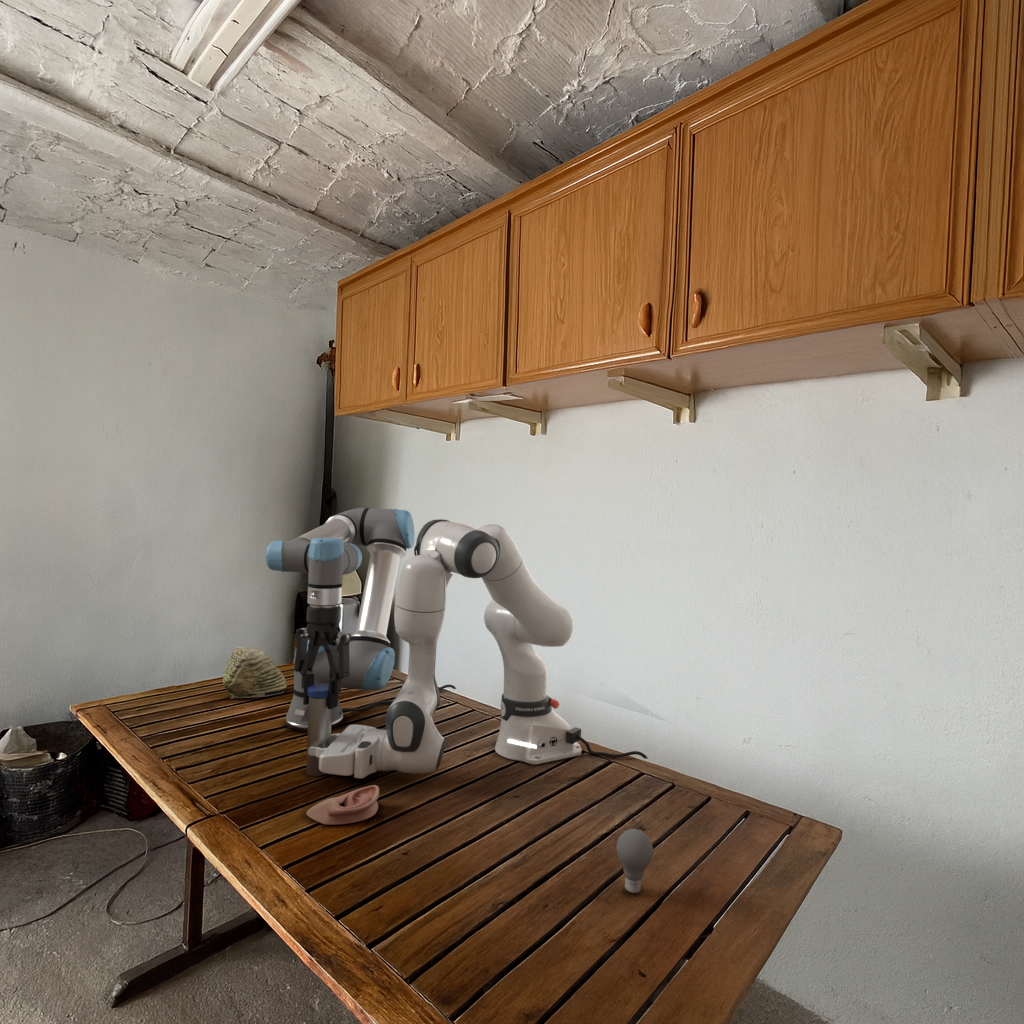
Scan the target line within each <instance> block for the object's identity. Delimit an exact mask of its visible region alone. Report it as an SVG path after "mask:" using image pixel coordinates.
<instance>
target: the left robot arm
mask: <svg viewBox="0 0 1024 1024" xmlns="http://www.w3.org/2000/svg"><path fill="white" fill-rule="evenodd" d="M415 537H416V536H415V525H414V519H413V516H412V514H411V512H409V510H406V509H398V508H376V507H357V508H352V509H348V510H345V511H342V512H339V513H336V514H334V515H332V516H330V517H329V518H328V519H326V521H325V522H324V524H322V525H320V526H318V527H316V528H314V529H311V530H310V531H307V532H305V533H303V534H300V535H299V536H297V537H295V538H293V539H290V540H285V539H281V540H273V541H271V542H270V543H269V544H268V545H267V547H266V550H265V563H266V566H267V567H268V569H269V570H271V571H276V572H282V573H284V572H286V573H287V572H288V573H306V574H307V573H308V578H307V579H308V580H307V581H308V584H307V604H308V606H307V607H306V622H307V624H306V625H307V626H306V627H301V628H297V629H296V630H295V636H296V647H295V654H294V659H293V661H294V672H293V695H292V696H293V697H292V699H291V702H290V704H289V708H288V711H287V713H286V715H285V726H286V728H287V729H289V730H291V731H294V732H295V731H296V732H301V733H308V712H309V696H308V695H307V690H308V687H309V686H311V685H314V684H329V692H328V709H332V721H331V730H332V729H335V728H337V727H339V726H340V725H342V723H343V722H344V713H343V712H362V711H365V710H367V709H369V708H371V707H374V706H377V705H379V706H380V705H388V704H389V705H391V704H392V702H393V701H394V700H380V701H374V702H371V703H369V704H367V705H365V706H362V707H356V708H355V707H346V708H344V707H343V708H342V706H341V702H340V699H339V694H341V693H342V689H352V690H362V691H363V690H364V691H380V690H382V689H384V688H385V687H386V686H387V684H388V683H389V681H390V678H391V677H392V673H393V671H394V666H395V658H396V654H395V650H394V648H392V647H391V641H390V640H389V639H388V637H387V634H388V627H389V622H390V615H391V610H392V604H393V599H394V592H395V587H396V581H397V575H398V571H399V565H400V560H401V559H402V558H404V557H405V556H406V553H407V549H408V550H410V549H412V548H413V547H414V546H415V545H414V544H415ZM359 546H364V547H366V550H367V552H368V553H369V554H370V557H369V562H368V567H367V572H366V576H365V577H366V578H365V581H364V582H365V583H364V587H363V592H362V596H361V597H362V598H361V603H360V609H359V613H358V617H357V624H356V629H355V632H354V633H353V634H351V633H345V632H344V631H343V632H342V630H341V626H340V623H341V619H342V606H340V605H341V604H342V601H343V599H342V598H343V576H344V575H349V574H351V573H353V572H355V571H357V570H358V568H360V566H361V565H362V561H363V554H362V551H361V550H360V548H359ZM447 688H452V690H456V689H457V687H456V686H455V685H453V684H444V685H443V686H440V687H438V689H439V692H440V691H442V690H444V689H447Z"/></svg>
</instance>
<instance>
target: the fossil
mask: <svg viewBox="0 0 1024 1024" xmlns="http://www.w3.org/2000/svg"><path fill="white" fill-rule="evenodd" d="M222 676H223V677H222V685H223V687H224V688H225V690H226V691H228V693H229V698H230V699H250V698H264V697H271V696H275V695H281V694H284V693H285V691H286V689H287V687H288V686H287V680H286V678H285V676H284V674H283V673H282V672H281V669H279V668H278V667H277V665H276V663H275V662H274V660H273V659H272V658H271V657H270V656H269V655H268V654H267V653H266V652H265V650H264V649H263V648H260V647H258V648H251V647H247V646H246V647H245V646H238V647H237V648H236V649H235V650H233V651H232V653H231V656H230V657H229V659H228V660H227V663H226V666H225V668H224V671H223V675H222Z"/></svg>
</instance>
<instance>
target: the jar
mask: <svg viewBox="0 0 1024 1024" xmlns="http://www.w3.org/2000/svg"><path fill="white" fill-rule="evenodd" d="M331 721H332V709H328V697H326V698H312V697H309V712H308V732H307V740H306V764H305V765H306V766H305V767H306V768H305V769H306V770H305V773H306V775H308V776H311V777H321V776H324V775H327V773H323V772H322V771H320V770H319V758H318V757H316V756H310V755H309V754H308V749H309V748H310V747H311V746H312V745H314V746H315V745H316V746H319V748H328V747H329V746H330V744H331V735H332V729H331Z"/></svg>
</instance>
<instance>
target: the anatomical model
mask: <svg viewBox="0 0 1024 1024" xmlns="http://www.w3.org/2000/svg"><path fill="white" fill-rule="evenodd" d="M379 795H380V787H379V786H378V785H376V784H372V785H367V786H364V787H360V788H356V789H354V790H352V791H349V792H347V793H344V794H341V795H339V796H335V797H330V798H327V799H325V800H322V801H320V802H318V803H316V804H315V805H312V806H311V807H310V808H309V809H308V810H306V812H305V813H306V816H307V817H308V818H309V819H311V820H313V821H315V822H317V823H319V824H321V825H327V826H333V825H346V824H353V823H357V822H362V821H365V820H367V819H369V818H372V817H373V816H374V815H376V814H377V811H378V810H379V803H378V799H379Z"/></svg>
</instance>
